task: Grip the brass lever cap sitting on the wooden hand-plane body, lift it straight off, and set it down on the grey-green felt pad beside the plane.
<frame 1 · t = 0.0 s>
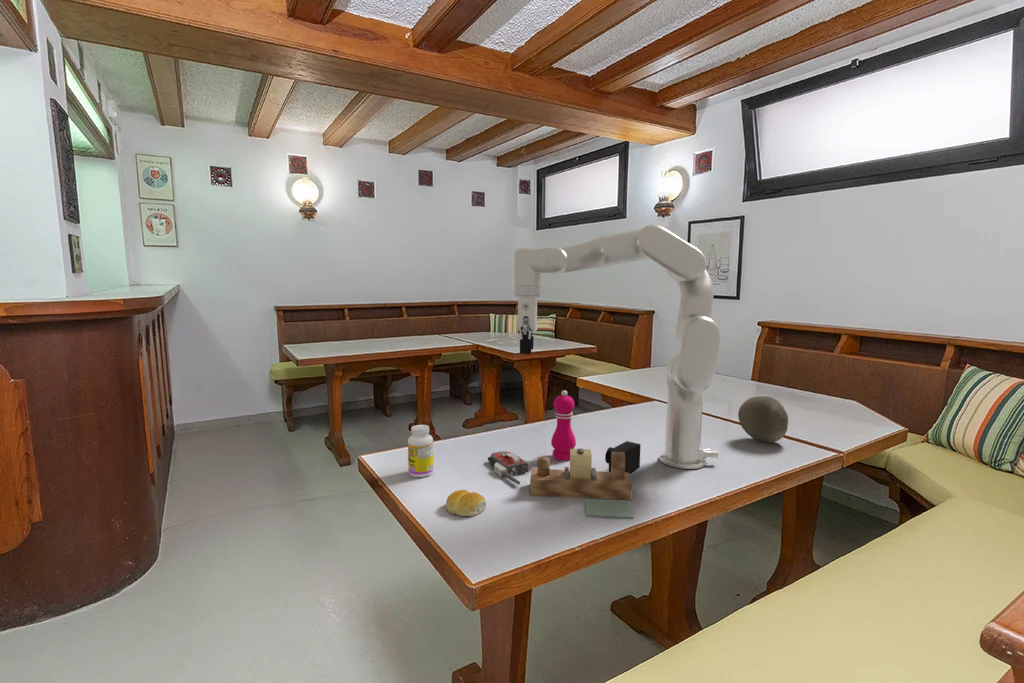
hand: (526, 351, 142), 31 cm above the table, tool pointing down, fingers open, 9 cm apart
bread roll: (466, 510, 111), on the table
felt pad: (608, 509, 111), on the table
supplement bottle: (421, 474, 131), on the table
digital camera: (622, 471, 134), on the table
lever cap: (580, 475, 120), point 4 cm above the table, touching plane body
plane body: (579, 491, 120), on the table
cantaloupe: (761, 442, 159), on the table
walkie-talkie: (511, 473, 133), on the table
pepper mill: (563, 457, 144), on the table
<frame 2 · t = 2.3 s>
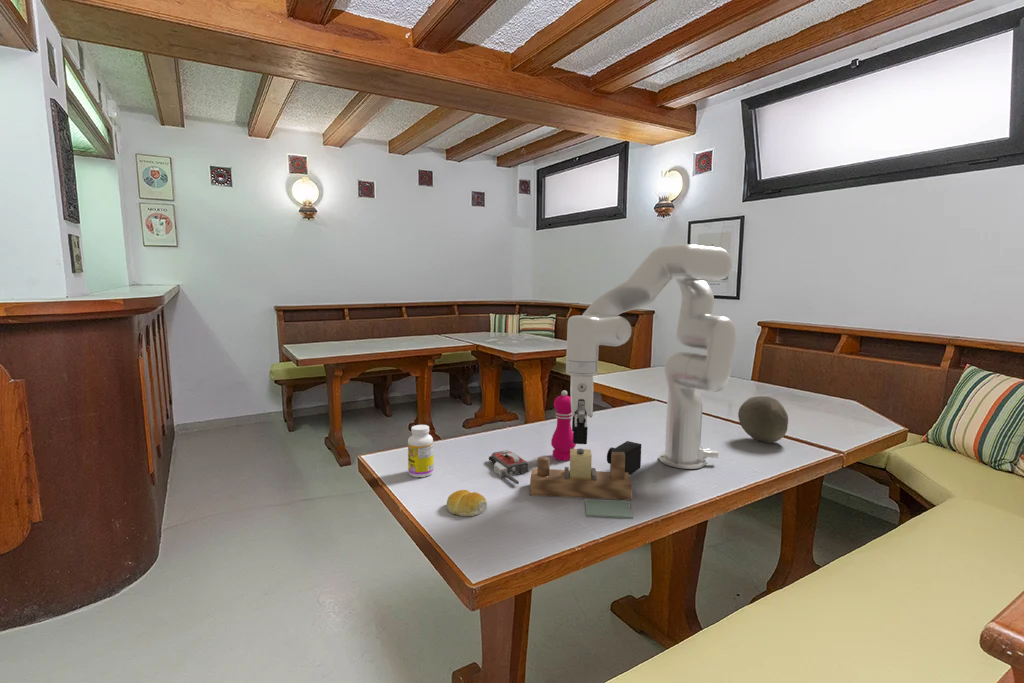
hand: (579, 437, 118), 14 cm above the table, tool pointing down, fingers open, 9 cm apart
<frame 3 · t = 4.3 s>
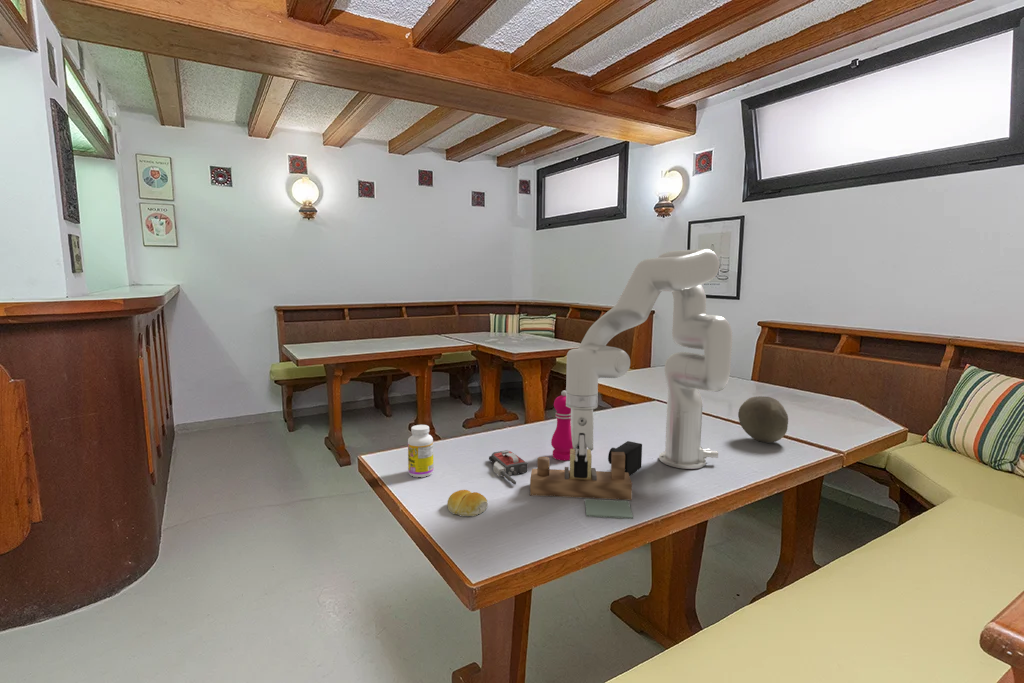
hand: (580, 472, 120), 5 cm above the table, tool pointing down, fingers closed on lever cap, 4 cm apart
lever cap: (580, 475, 120), point 4 cm above the table, touching gripper, plane body
everything else where it was.
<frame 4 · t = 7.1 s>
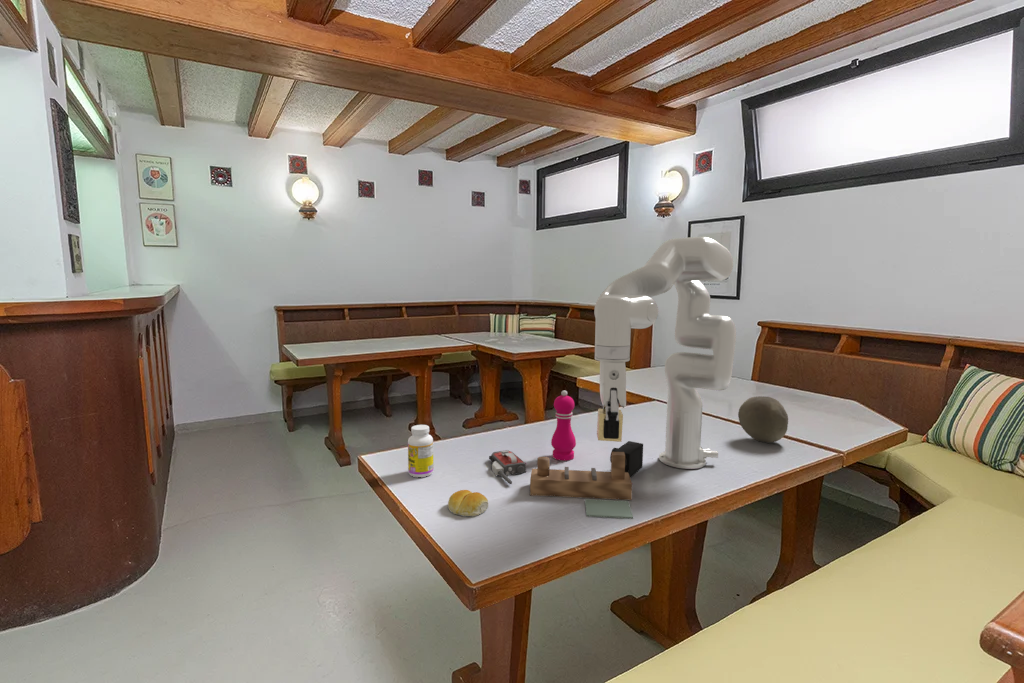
hand: (610, 433, 109), 18 cm above the table, tool pointing down, fingers closed on lever cap, 4 cm apart
lever cap: (608, 437, 109), point 17 cm above the table, touching gripper
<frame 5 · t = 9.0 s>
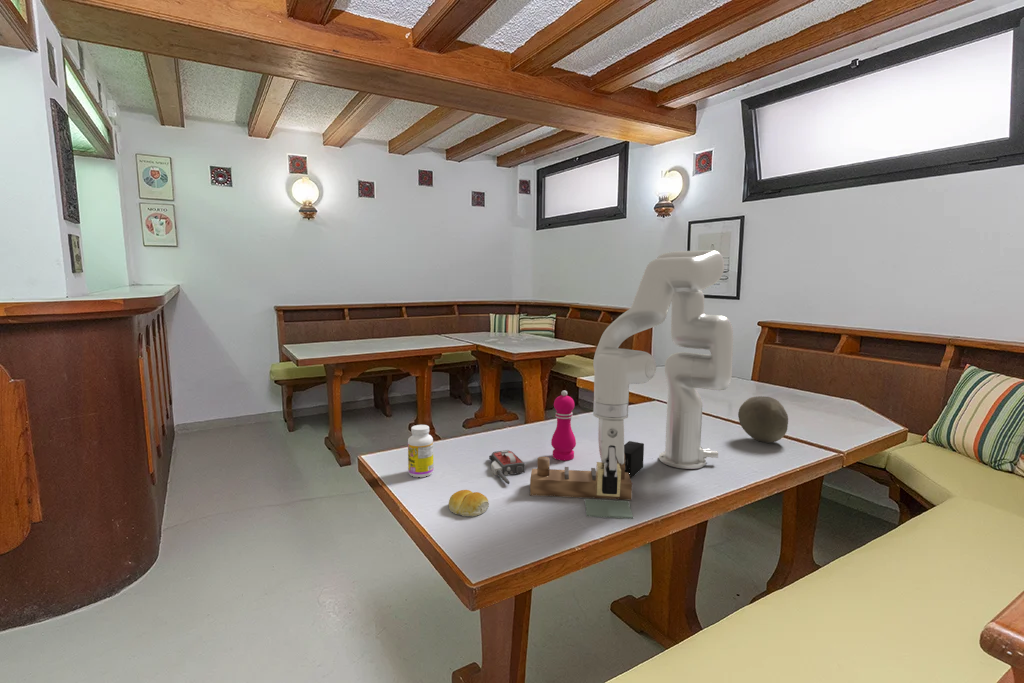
hand: (608, 487, 110), 5 cm above the table, tool pointing down, fingers closed on lever cap, 4 cm apart
lever cap: (607, 491, 110), point 4 cm above the table, touching gripper
when the fingers open (3 cm above the table, at t = 10.4 s): lever cap drops 1 cm, resting on felt pad.
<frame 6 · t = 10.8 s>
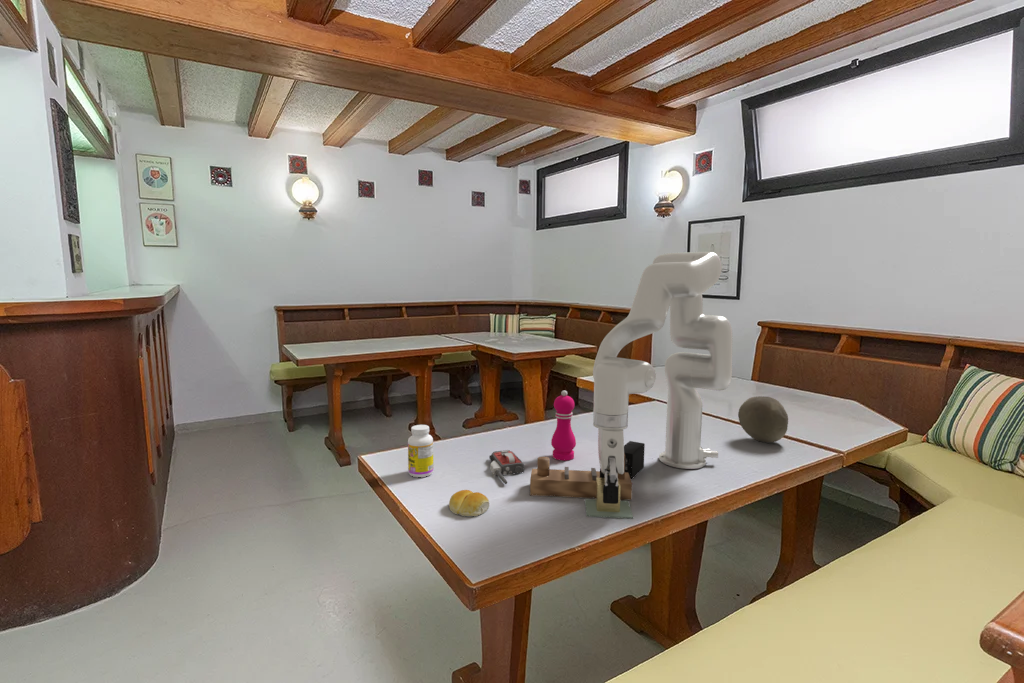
hand: (608, 493, 110), 4 cm above the table, tool pointing down, fingers open, 9 cm apart
lever cap: (607, 507, 111), resting on felt pad
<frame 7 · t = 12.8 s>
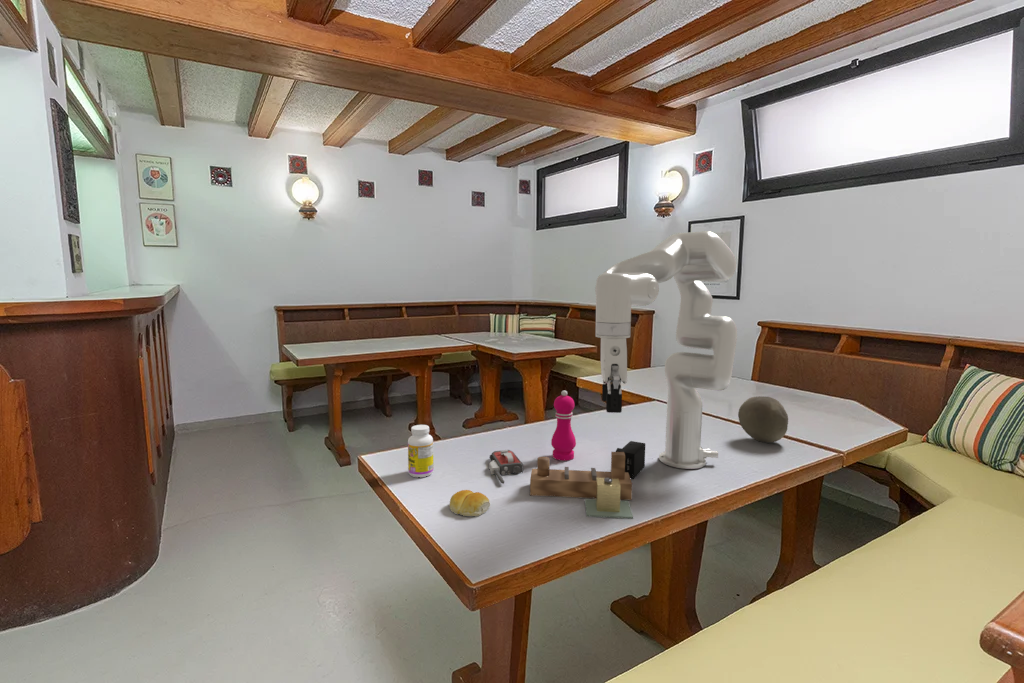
hand: (611, 406, 109), 23 cm above the table, tool pointing down, fingers open, 9 cm apart
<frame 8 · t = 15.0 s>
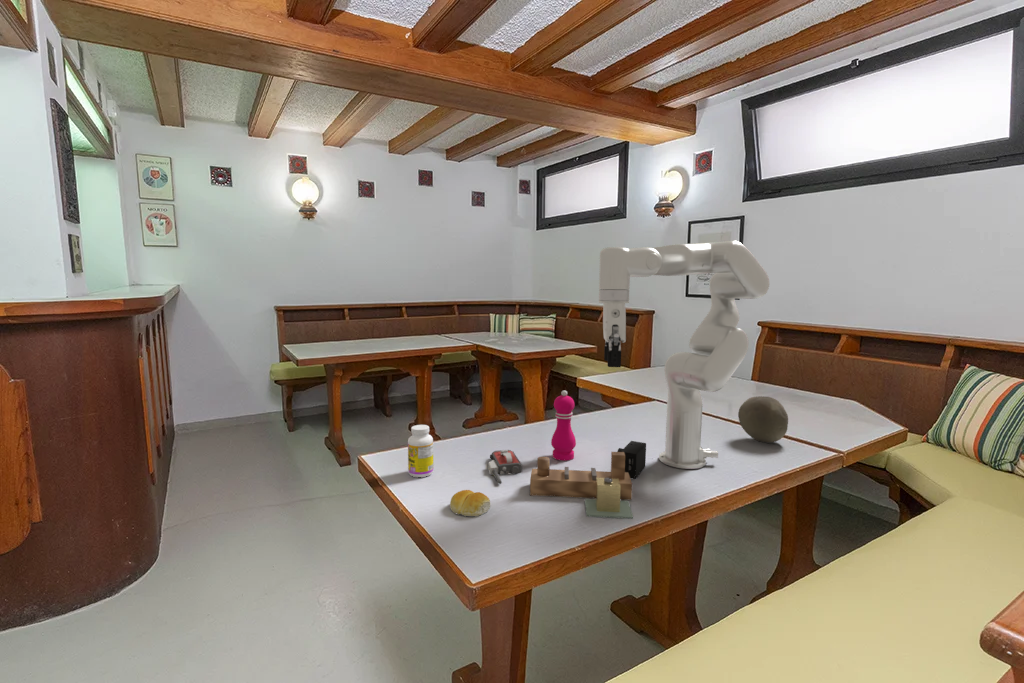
hand: (612, 363, 126), 30 cm above the table, tool pointing down, fingers open, 9 cm apart
at the end: lever cap inside the target area on the felt pad (0.2 cm from its centre), point 0.4 cm above the felt pad's base; lever cap touching felt pad; the gripper is holding nothing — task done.
